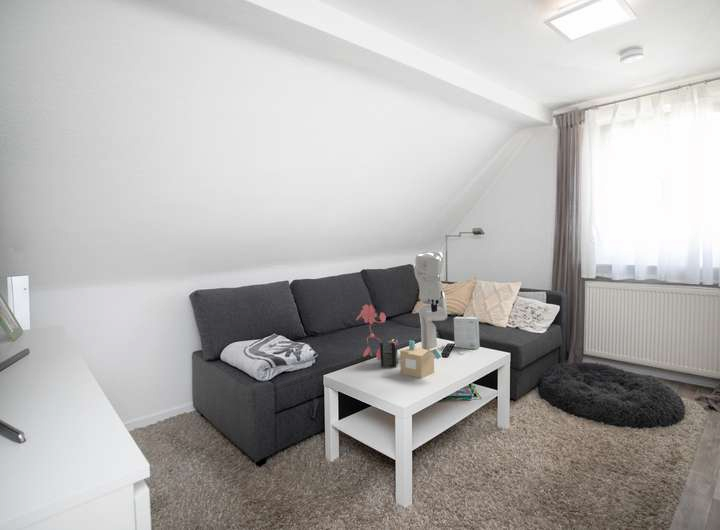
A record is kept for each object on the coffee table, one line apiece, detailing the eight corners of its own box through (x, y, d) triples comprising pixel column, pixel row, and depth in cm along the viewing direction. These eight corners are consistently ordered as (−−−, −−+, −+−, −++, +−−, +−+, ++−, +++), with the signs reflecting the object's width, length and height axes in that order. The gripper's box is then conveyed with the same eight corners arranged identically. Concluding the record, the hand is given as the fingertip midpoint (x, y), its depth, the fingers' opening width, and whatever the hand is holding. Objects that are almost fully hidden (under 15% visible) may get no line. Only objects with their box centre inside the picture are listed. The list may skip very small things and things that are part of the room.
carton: (412, 367, 238) (411, 337, 237) (434, 372, 228) (433, 341, 227) (399, 372, 229) (398, 342, 228) (421, 378, 219) (420, 346, 218)
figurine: (363, 353, 272) (360, 301, 270) (393, 360, 254) (390, 304, 252) (346, 359, 261) (343, 304, 259) (377, 366, 243) (373, 308, 241)
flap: (441, 345, 223) (447, 353, 221) (434, 351, 226) (440, 359, 224) (429, 349, 215) (435, 358, 213) (422, 355, 218) (428, 364, 216)
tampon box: (396, 367, 239) (395, 343, 238) (380, 367, 241) (379, 342, 240) (398, 362, 250) (397, 338, 249) (383, 362, 251) (382, 338, 251)
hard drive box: (479, 346, 278) (479, 317, 277) (477, 349, 271) (476, 319, 270) (457, 344, 285) (456, 316, 284) (453, 347, 279) (453, 318, 278)
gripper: (418, 278, 230) (419, 311, 232) (441, 280, 220) (441, 314, 221) (426, 277, 235) (427, 308, 237) (448, 278, 225) (449, 311, 227)
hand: (434, 311), depth 229 cm, fingers closed
